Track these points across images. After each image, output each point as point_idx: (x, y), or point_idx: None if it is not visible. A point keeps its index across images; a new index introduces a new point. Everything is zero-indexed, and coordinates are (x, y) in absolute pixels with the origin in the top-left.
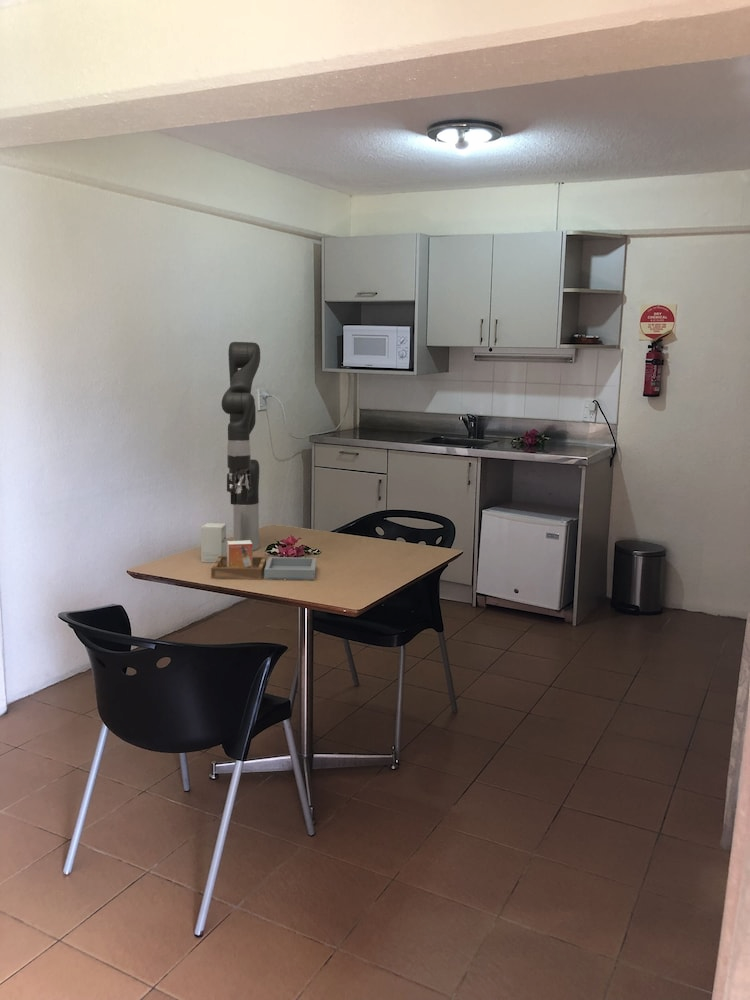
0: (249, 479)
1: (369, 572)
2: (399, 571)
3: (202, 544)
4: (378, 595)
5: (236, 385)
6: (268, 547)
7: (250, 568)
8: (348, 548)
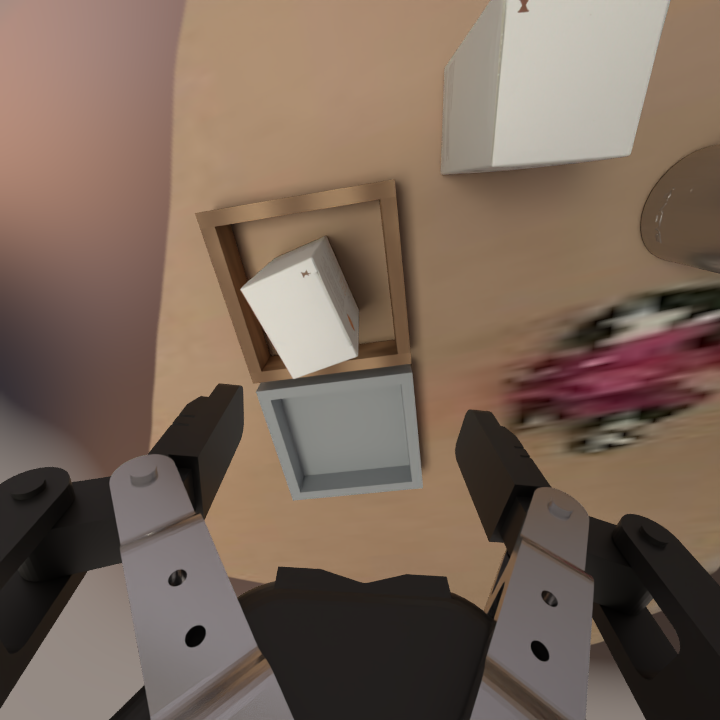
0: (642, 710)
1: (396, 556)
2: None
3: (466, 43)
4: (236, 577)
5: None
6: (696, 292)
7: (248, 351)
8: (636, 504)
